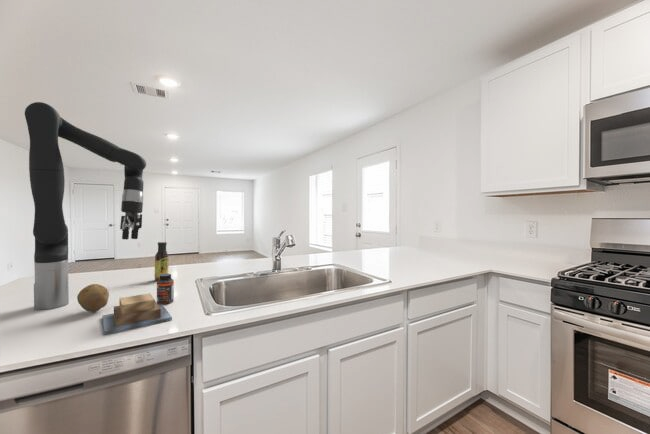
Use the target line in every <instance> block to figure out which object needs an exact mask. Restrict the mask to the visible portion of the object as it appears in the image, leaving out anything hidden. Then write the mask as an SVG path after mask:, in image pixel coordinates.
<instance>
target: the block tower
mask: <svg viewBox="0 0 650 434" xmlns="http://www.w3.org/2000/svg"><path fill="white" fill-rule="evenodd" d="M118 303H119V305H115V306H113V313H109V314H104V315H102V325H103V331H104V336H106V335H111V334H115V333H118V332H124V331H129V330H133V329H138V328H141V327H142V328H143V327H146V326H151V325H154V324H156V325H157V324H160V323H164V322H169V321H172V320H173V316H172V315H171V313H169V311H168V309H167V308H166V307H165V306H164V304H158V303H157V300H156V299H155V298H154V297H153V295H152V294H151V292H150V293H145V294H144V293H143V294H136V295H131V296H124V297H120V298H119V302H118Z"/></svg>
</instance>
